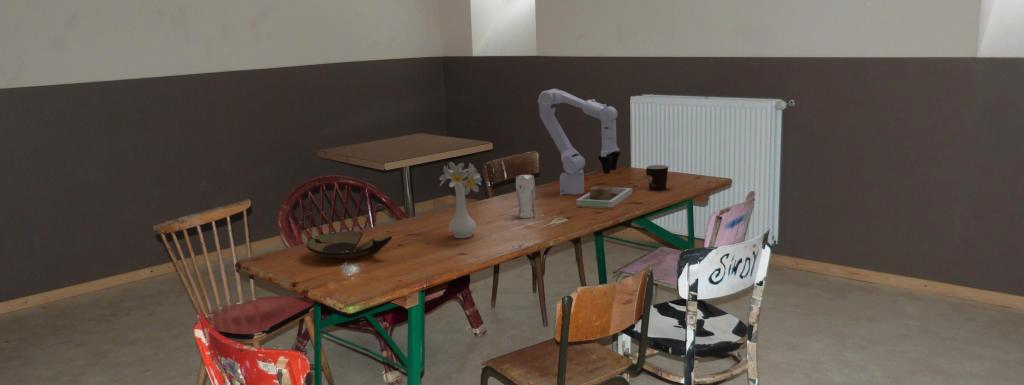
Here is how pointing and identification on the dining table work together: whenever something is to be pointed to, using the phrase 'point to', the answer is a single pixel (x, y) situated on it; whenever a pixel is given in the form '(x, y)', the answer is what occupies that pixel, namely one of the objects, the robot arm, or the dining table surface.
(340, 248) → the oil lamp
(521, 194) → the beer glass
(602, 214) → the dining table surface
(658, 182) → the coffee mug
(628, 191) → the bay
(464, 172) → the flower vase
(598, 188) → the cardboard box
